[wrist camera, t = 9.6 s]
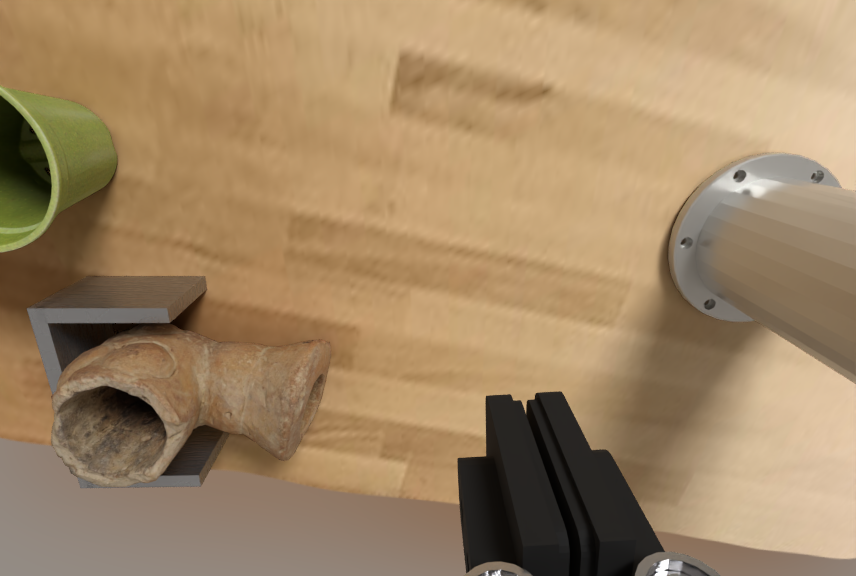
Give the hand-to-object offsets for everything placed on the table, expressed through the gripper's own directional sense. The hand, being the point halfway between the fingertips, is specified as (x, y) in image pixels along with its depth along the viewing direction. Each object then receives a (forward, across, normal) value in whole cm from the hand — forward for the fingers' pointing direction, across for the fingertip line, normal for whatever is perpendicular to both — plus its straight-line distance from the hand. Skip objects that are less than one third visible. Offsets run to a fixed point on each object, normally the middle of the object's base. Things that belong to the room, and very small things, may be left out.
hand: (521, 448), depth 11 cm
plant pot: (+26, +25, -6) cm, 36 cm away
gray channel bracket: (+25, +23, +10) cm, 36 cm away
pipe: (+26, +18, +11) cm, 33 cm away
